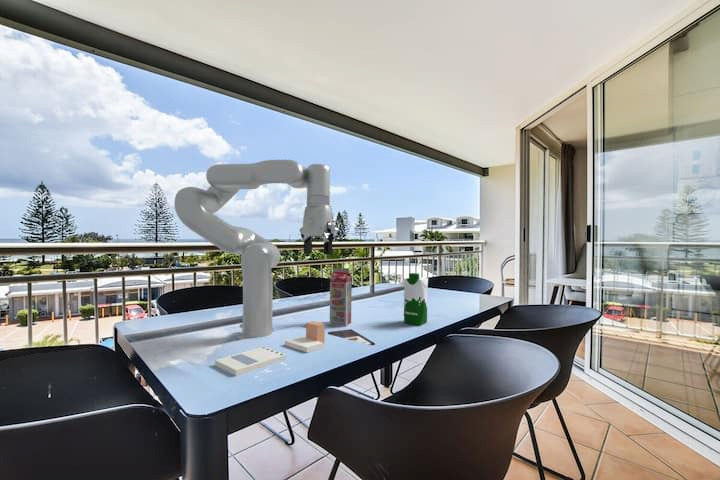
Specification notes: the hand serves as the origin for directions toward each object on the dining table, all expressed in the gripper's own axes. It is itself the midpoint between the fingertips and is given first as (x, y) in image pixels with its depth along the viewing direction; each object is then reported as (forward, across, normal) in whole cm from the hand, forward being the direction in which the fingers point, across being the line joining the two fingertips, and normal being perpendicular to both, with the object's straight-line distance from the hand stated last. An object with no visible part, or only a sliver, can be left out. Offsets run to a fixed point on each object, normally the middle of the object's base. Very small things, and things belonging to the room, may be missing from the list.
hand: (317, 253), depth 110 cm
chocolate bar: (+29, +8, +8) cm, 31 cm away
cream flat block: (+27, +6, -28) cm, 39 cm away
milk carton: (+28, +13, +42) cm, 52 cm away
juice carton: (+28, -8, +20) cm, 36 cm away
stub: (+27, +6, -9) cm, 29 cm away
